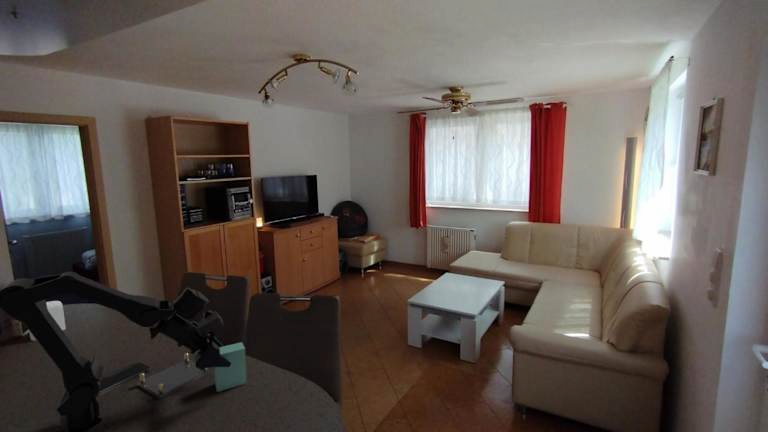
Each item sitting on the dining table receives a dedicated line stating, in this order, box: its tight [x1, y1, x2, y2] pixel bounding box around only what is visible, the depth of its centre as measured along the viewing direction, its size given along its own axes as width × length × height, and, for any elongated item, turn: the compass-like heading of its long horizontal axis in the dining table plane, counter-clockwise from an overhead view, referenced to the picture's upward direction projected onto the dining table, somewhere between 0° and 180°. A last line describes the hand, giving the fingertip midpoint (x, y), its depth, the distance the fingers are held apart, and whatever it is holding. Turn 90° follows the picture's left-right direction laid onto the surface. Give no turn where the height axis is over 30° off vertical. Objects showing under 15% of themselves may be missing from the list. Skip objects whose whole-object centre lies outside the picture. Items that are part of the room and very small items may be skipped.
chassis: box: [137, 352, 211, 399], centre depth 108 cm, size 15×12×4 cm
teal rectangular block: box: [213, 342, 247, 392], centre depth 106 cm, size 8×4×11 cm, turn 122°
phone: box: [95, 361, 152, 397], centre depth 108 cm, size 8×1×15 cm
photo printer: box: [28, 300, 66, 342], centre depth 134 cm, size 10×4×12 cm, turn 160°
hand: (227, 357), depth 105 cm, fingers open, 9 cm apart
